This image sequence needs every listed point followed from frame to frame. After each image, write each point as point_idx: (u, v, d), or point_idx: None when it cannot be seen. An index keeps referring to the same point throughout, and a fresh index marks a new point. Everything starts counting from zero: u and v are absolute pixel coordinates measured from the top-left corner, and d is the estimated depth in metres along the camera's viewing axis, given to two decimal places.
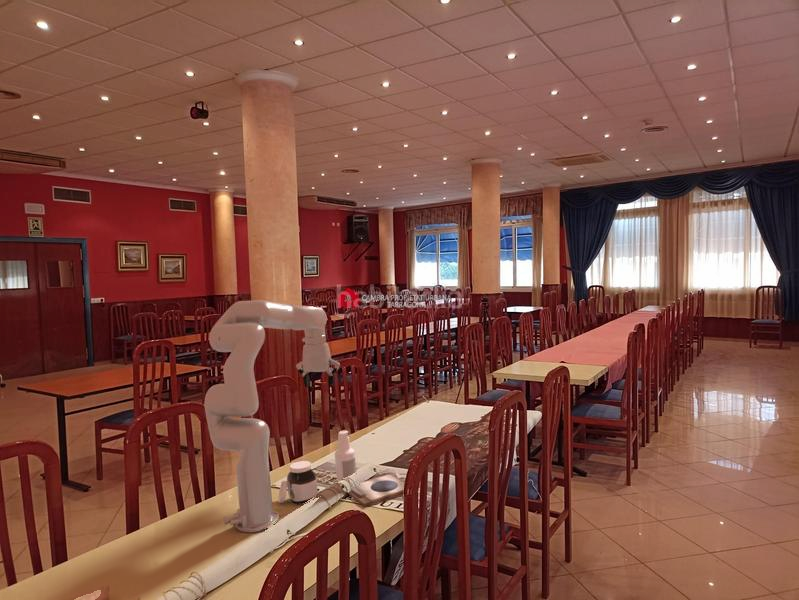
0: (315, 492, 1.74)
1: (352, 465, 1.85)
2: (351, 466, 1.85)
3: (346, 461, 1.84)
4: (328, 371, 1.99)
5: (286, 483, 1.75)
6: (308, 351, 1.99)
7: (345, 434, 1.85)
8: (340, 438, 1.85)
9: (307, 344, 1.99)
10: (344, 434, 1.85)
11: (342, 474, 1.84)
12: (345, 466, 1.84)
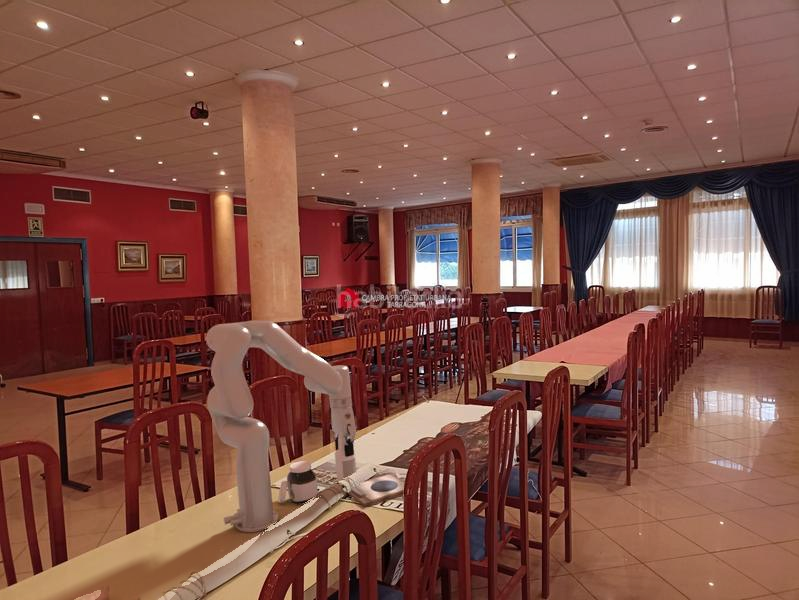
0: (315, 492, 1.74)
1: (352, 465, 1.85)
2: (351, 466, 1.85)
3: (346, 461, 1.84)
4: None
5: (286, 483, 1.75)
6: None
7: (345, 434, 1.85)
8: (340, 438, 1.85)
9: (351, 403, 1.86)
10: None
11: (342, 474, 1.84)
12: (345, 466, 1.84)
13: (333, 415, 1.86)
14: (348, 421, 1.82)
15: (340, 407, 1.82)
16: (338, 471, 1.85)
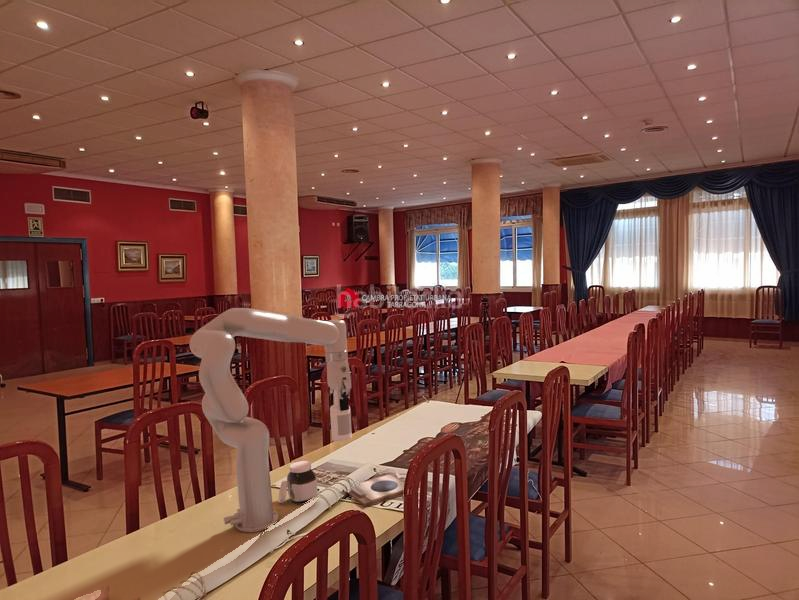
0: (315, 492, 1.74)
1: (347, 419, 1.83)
2: (346, 421, 1.83)
3: (341, 416, 1.82)
4: None
5: (286, 483, 1.75)
6: None
7: (341, 388, 1.84)
8: (335, 392, 1.84)
9: (347, 358, 1.85)
10: None
11: (337, 428, 1.83)
12: (340, 420, 1.82)
13: (329, 369, 1.85)
14: (344, 374, 1.81)
15: (336, 360, 1.81)
16: (333, 426, 1.84)
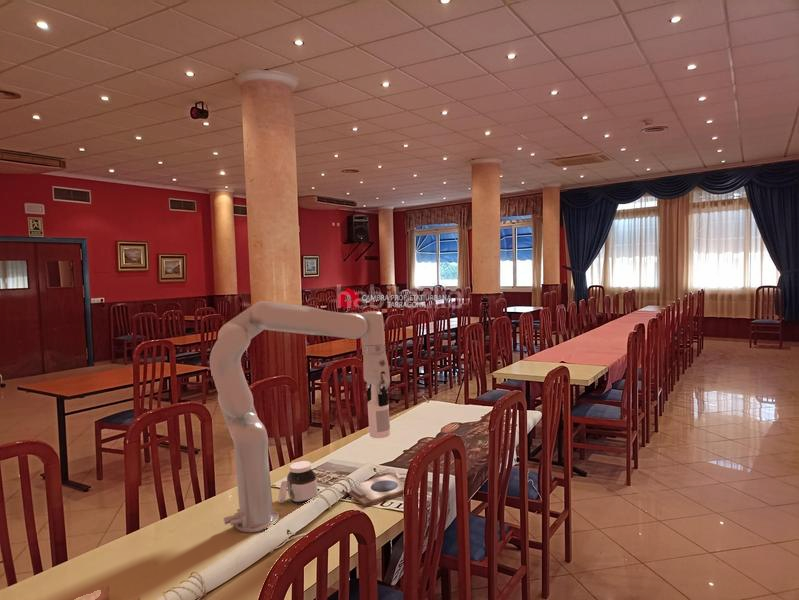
0: (315, 492, 1.74)
1: (386, 415, 1.75)
2: (384, 417, 1.75)
3: (380, 412, 1.74)
4: None
5: (286, 483, 1.75)
6: None
7: None
8: (373, 387, 1.76)
9: (385, 351, 1.76)
10: None
11: (376, 424, 1.74)
12: (378, 416, 1.74)
13: (366, 363, 1.76)
14: (382, 368, 1.72)
15: (374, 354, 1.73)
16: (371, 422, 1.75)
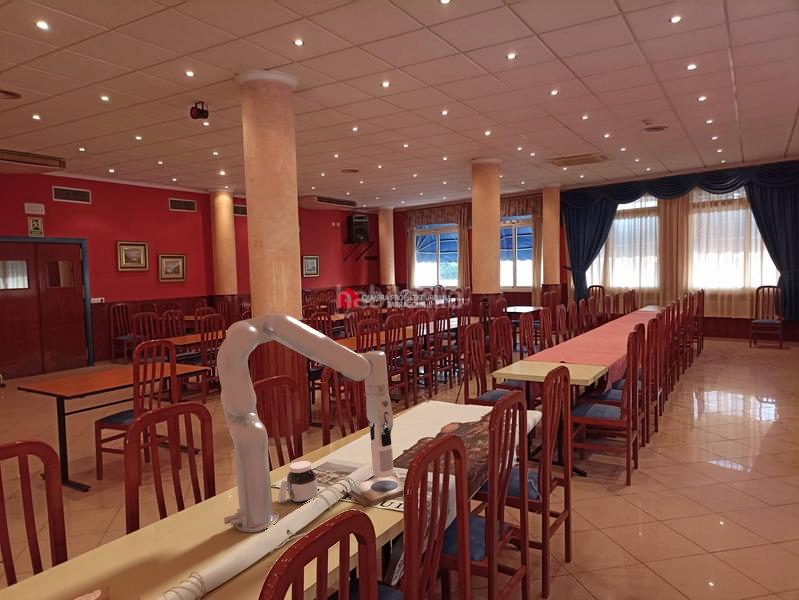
0: (315, 492, 1.74)
1: (389, 455, 1.76)
2: (388, 456, 1.76)
3: (383, 451, 1.75)
4: None
5: (286, 483, 1.75)
6: None
7: None
8: (377, 427, 1.76)
9: (388, 391, 1.77)
10: None
11: (379, 464, 1.75)
12: (382, 456, 1.75)
13: (369, 403, 1.77)
14: (385, 409, 1.73)
15: (377, 394, 1.73)
16: (374, 462, 1.76)
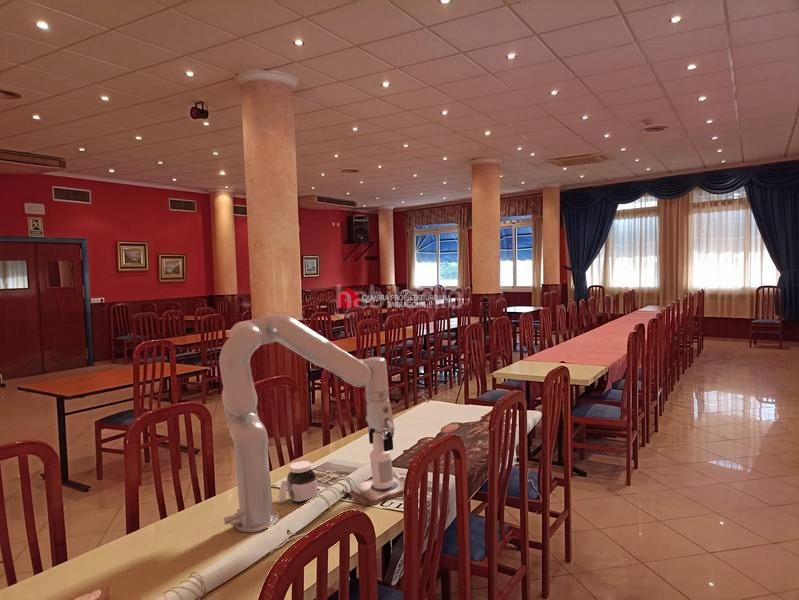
0: (315, 492, 1.74)
1: (388, 466, 1.77)
2: (387, 467, 1.76)
3: (382, 463, 1.76)
4: None
5: (286, 483, 1.75)
6: None
7: (380, 434, 1.77)
8: (375, 438, 1.77)
9: (388, 397, 1.77)
10: (379, 434, 1.77)
11: (379, 475, 1.76)
12: (381, 467, 1.76)
13: (369, 409, 1.77)
14: (386, 415, 1.73)
15: (377, 400, 1.74)
16: (374, 473, 1.77)
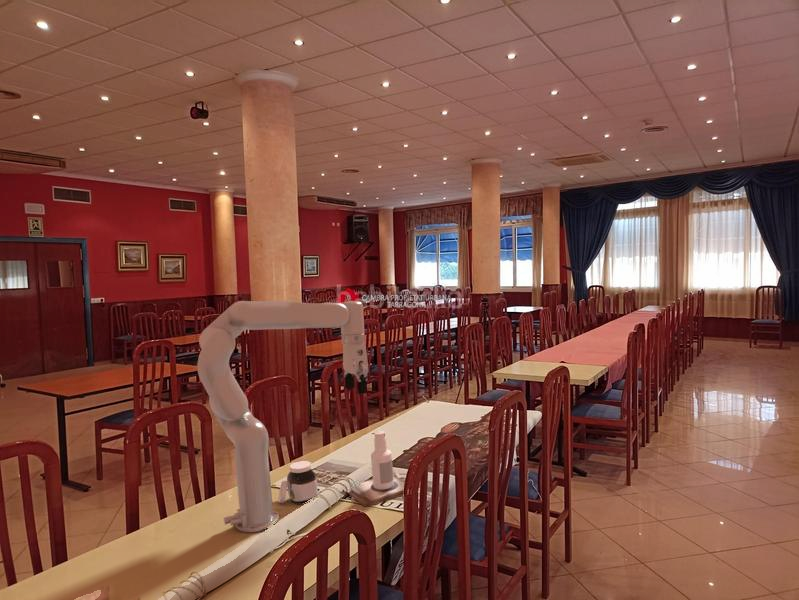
0: (315, 492, 1.74)
1: (389, 467, 1.76)
2: (388, 468, 1.76)
3: (383, 463, 1.75)
4: None
5: (286, 483, 1.75)
6: None
7: (382, 435, 1.77)
8: (377, 439, 1.77)
9: (364, 341, 1.77)
10: (381, 435, 1.76)
11: (379, 476, 1.76)
12: (382, 468, 1.75)
13: (345, 352, 1.78)
14: (360, 358, 1.73)
15: (352, 343, 1.74)
16: (375, 473, 1.77)
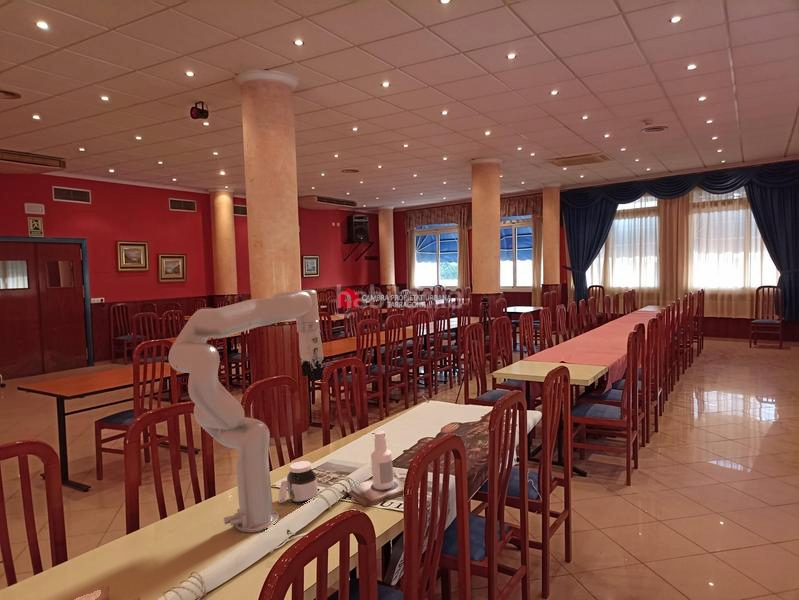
0: (315, 492, 1.74)
1: (389, 467, 1.76)
2: (388, 468, 1.76)
3: (383, 463, 1.75)
4: None
5: (286, 483, 1.75)
6: None
7: (382, 435, 1.77)
8: (377, 439, 1.77)
9: (319, 328, 1.80)
10: (381, 435, 1.76)
11: (379, 476, 1.76)
12: (382, 468, 1.75)
13: (300, 340, 1.80)
14: (315, 345, 1.76)
15: (307, 331, 1.77)
16: (374, 473, 1.77)
